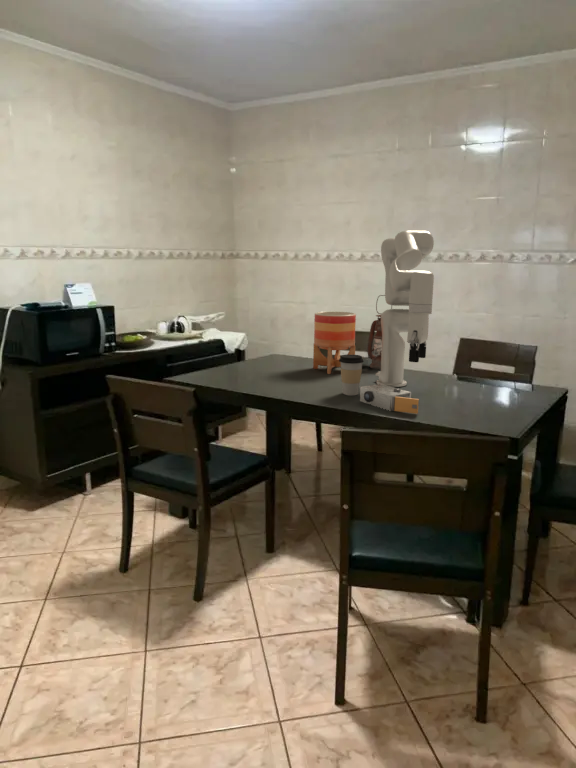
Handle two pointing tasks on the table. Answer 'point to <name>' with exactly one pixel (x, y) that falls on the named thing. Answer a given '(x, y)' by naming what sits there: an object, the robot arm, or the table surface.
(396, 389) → the camera case
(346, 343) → the planter
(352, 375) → the coffee cup
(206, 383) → the table surface
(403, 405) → the side door
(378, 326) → the lantern
